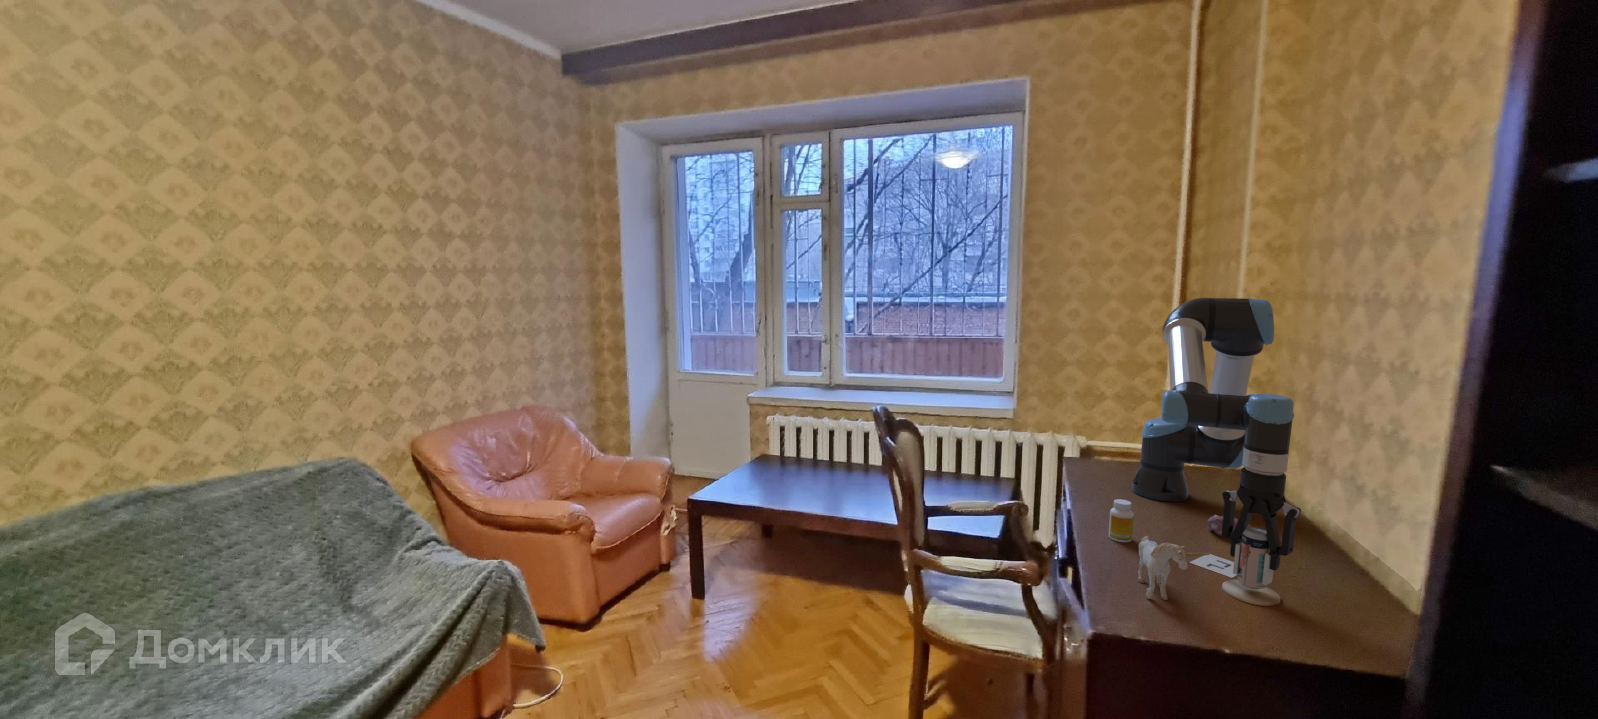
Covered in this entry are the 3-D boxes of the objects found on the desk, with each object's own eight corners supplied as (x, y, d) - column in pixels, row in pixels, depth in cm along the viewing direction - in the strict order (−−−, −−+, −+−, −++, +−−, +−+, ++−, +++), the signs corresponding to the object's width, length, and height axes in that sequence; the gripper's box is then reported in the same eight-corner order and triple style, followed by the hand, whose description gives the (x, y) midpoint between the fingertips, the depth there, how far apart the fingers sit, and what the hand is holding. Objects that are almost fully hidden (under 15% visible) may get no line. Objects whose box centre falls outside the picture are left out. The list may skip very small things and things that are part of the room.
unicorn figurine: (1167, 619, 125) (1173, 554, 123) (1115, 572, 144) (1119, 516, 142) (1203, 618, 125) (1210, 553, 123) (1146, 572, 144) (1151, 515, 142)
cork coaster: (1235, 578, 142) (1235, 575, 142) (1288, 597, 133) (1289, 594, 133) (1213, 590, 136) (1213, 587, 136) (1267, 610, 128) (1267, 608, 128)
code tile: (1208, 553, 154) (1208, 553, 154) (1250, 568, 147) (1250, 567, 147) (1189, 562, 149) (1189, 562, 149) (1231, 577, 142) (1231, 577, 142)
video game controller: (1205, 538, 167) (1205, 518, 164) (1209, 526, 170) (1209, 506, 167) (1251, 549, 161) (1251, 529, 158) (1254, 536, 163) (1255, 516, 160)
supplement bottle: (1134, 543, 160) (1137, 506, 158) (1111, 541, 161) (1114, 504, 159) (1128, 535, 165) (1131, 498, 164) (1105, 533, 166) (1108, 497, 165)
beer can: (1240, 577, 138) (1246, 524, 136) (1267, 585, 135) (1273, 530, 133) (1235, 585, 135) (1240, 530, 133) (1262, 593, 131) (1268, 537, 130)
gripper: (1208, 462, 137) (1198, 565, 140) (1308, 485, 122) (1294, 600, 125) (1224, 456, 141) (1215, 557, 144) (1324, 478, 126) (1310, 590, 129)
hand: (1252, 577), depth 134 cm, fingers closed on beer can, 5 cm apart
